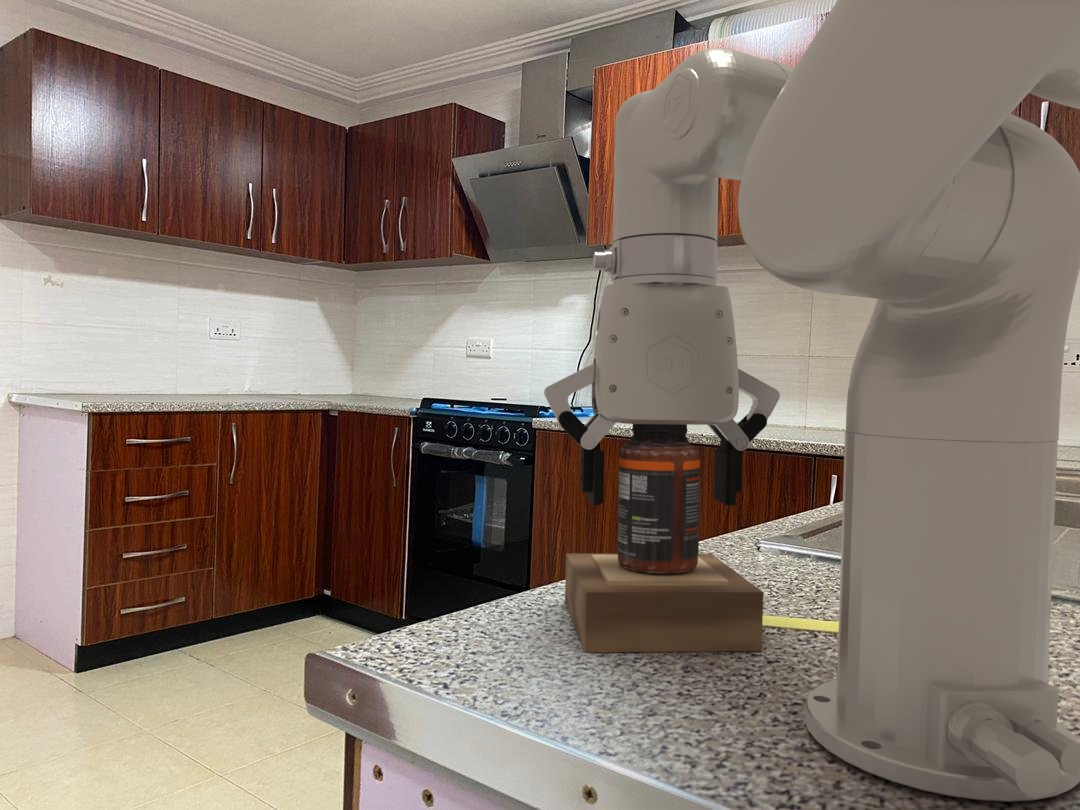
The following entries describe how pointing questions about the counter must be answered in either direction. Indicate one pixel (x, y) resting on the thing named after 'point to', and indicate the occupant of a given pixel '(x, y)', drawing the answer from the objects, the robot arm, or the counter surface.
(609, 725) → the counter surface
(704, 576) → the base slab
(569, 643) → the counter surface
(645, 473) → the supplement bottle
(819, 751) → the counter surface
